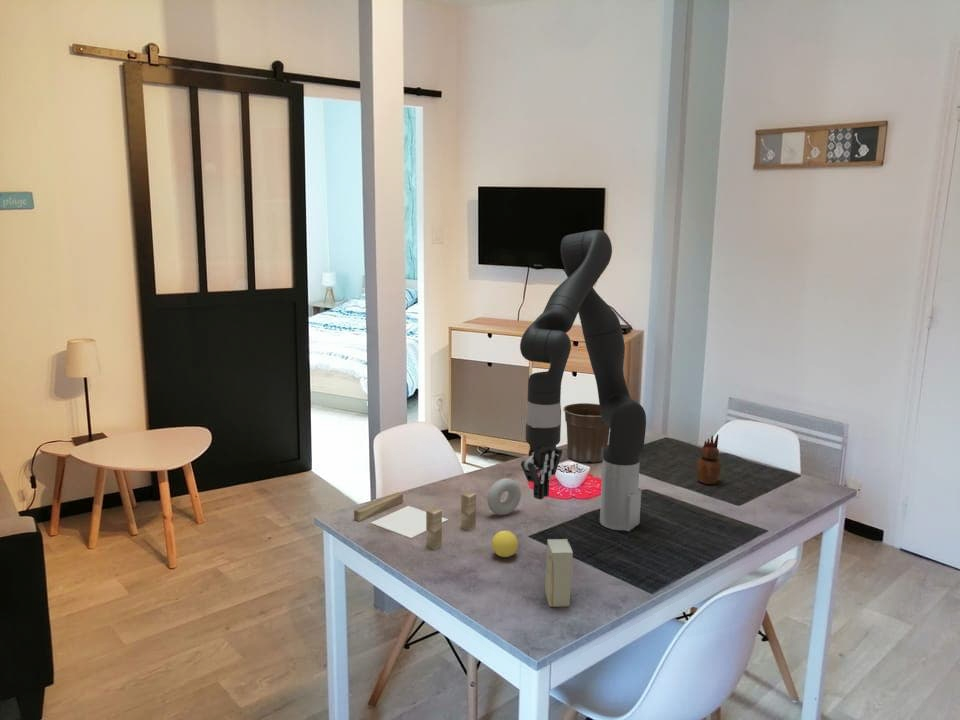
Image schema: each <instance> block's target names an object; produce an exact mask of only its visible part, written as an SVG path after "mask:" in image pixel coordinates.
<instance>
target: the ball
mask: <svg viewBox="0 0 960 720" xmlns="http://www.w3.org/2000/svg"><path fill="white" fill-rule="evenodd" d="M491 540H492V541H491V546H492V550H493V552H494V553H495V555H497V556H498V557H501V558H508V557H509V558H510V557H511V556H513V555H514V554H515V553H516V552H517V550H518V547H519V542H518V539H517V536H516V535H515V533H513V532H512V531H509V530H500V531H498V532H497V533H496V534H495V535H494V536H493V538H492V539H491Z"/></svg>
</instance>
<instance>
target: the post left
mask: <svg viewBox="0 0 960 720" xmlns="http://www.w3.org/2000/svg"><path fill="white" fill-rule="evenodd" d="M425 512H426V531H425V533H426V534H425V535H426V540H425V542H426V543H425V544H426V545H425V546H426V548H429V549H431V550H436V549H438V548H440V547H442V546H443V544H442V543H443V534H442V533H443V526H442V525H443V523H442V517H443V510H442V509H438V508H436V507H432V508H429V509H428V510H426V511H425Z"/></svg>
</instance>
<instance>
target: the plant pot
mask: <svg viewBox="0 0 960 720" xmlns="http://www.w3.org/2000/svg"><path fill="white" fill-rule="evenodd" d="M563 412H564V420H565V423H566V440H567V441H566V442H567V445H566V446H567V456H568V458H569V459H570V460H573V461H574V462H577V463H579V462H580V463H586V464H587V463H588V462H591V463H592V464H594V463H600V462H603V450H604V447H605V446H607V445H609V437H610V428H609V427H608V426H607V425H606V424H605V423H604V421H603V420H602V417H601V412H600V405H599V403H587V402H585V403H584V402H582V403H581V402H580V403H572V404H570V403H569V404H567V405H565V406H564V407H563Z"/></svg>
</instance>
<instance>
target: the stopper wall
mask: <svg viewBox="0 0 960 720" xmlns="http://www.w3.org/2000/svg"><path fill="white" fill-rule="evenodd" d="M403 496H404V495H403V493H402V492H395V493H392V494H389V495H387V496H385V497H382V498H380V499H378V500H376V501H373V502H370V503H368V504H365V505H364V506H361V507H358V508H357V509H354V510H353V520H354V521H358V522H359V523H360V522H361V521H364V520H367V519H369V518H371V517H373V516H375V515H377V514H378V515H379V514H380V513H382V512H384V511H386V510H390V509H392V508H394V507H396V506H399V505H401V504H404V497H403Z"/></svg>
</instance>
